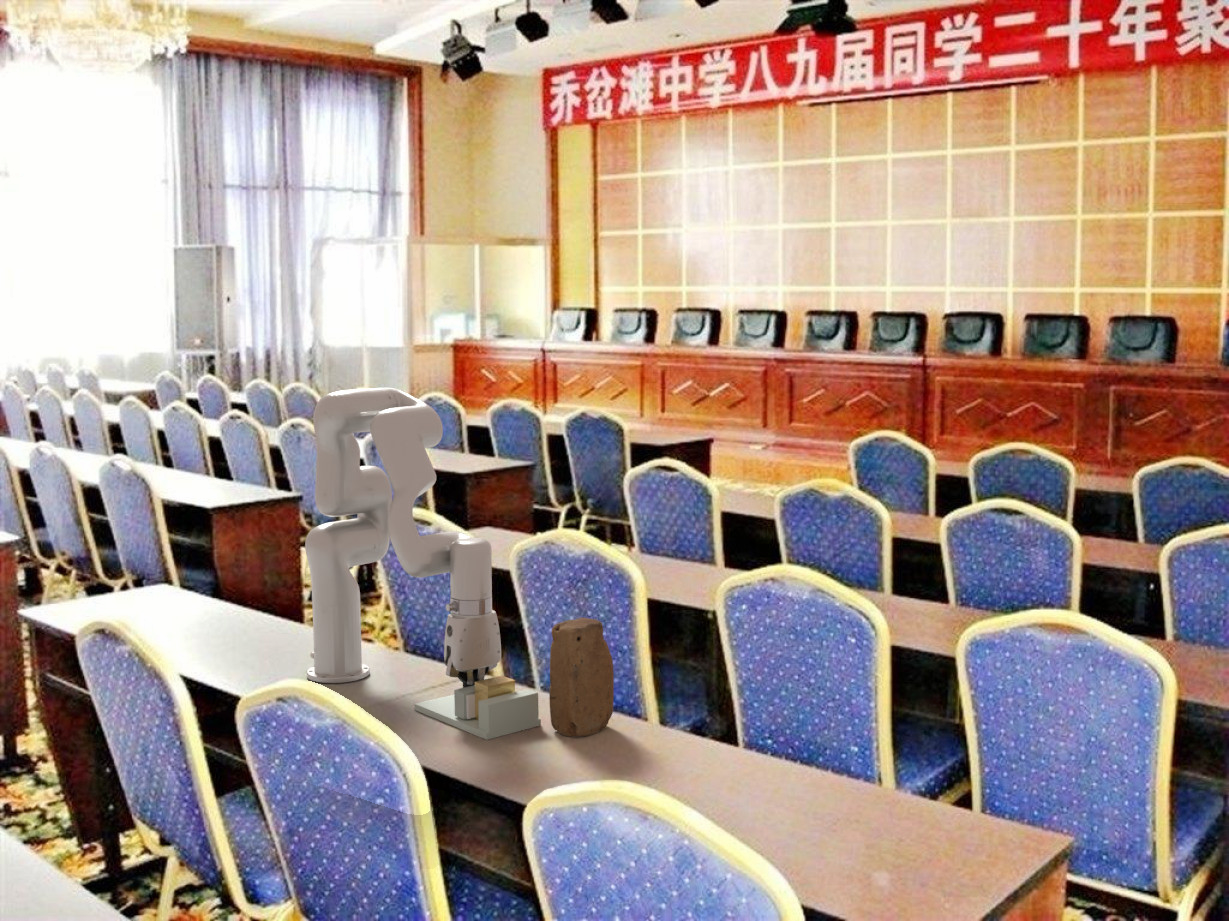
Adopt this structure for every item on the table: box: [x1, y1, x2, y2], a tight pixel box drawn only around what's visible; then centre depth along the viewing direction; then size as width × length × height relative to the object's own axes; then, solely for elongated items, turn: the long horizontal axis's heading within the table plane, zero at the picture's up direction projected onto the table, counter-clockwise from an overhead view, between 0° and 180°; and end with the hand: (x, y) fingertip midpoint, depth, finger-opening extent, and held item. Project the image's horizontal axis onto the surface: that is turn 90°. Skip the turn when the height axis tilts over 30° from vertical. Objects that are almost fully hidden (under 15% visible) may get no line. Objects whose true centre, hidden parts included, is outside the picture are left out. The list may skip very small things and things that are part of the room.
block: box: [548, 617, 615, 738], centre depth 246 cm, size 11×8×20 cm
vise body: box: [414, 688, 542, 741], centre depth 254 cm, size 23×12×6 cm, turn 41°
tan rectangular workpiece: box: [475, 675, 516, 721], centre depth 250 cm, size 4×6×7 cm, turn 131°
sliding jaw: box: [453, 685, 475, 719], centre depth 253 cm, size 4×10×5 cm, turn 131°
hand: (472, 702), depth 256 cm, fingers closed
